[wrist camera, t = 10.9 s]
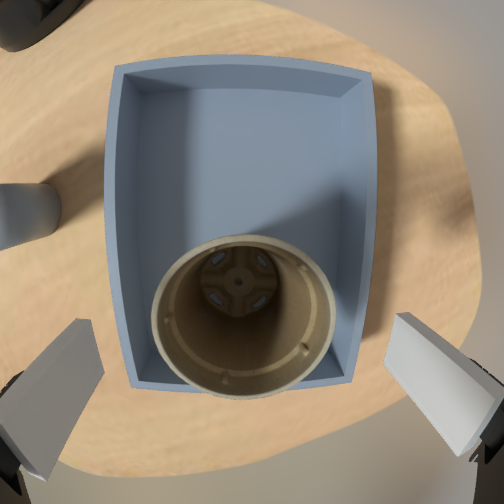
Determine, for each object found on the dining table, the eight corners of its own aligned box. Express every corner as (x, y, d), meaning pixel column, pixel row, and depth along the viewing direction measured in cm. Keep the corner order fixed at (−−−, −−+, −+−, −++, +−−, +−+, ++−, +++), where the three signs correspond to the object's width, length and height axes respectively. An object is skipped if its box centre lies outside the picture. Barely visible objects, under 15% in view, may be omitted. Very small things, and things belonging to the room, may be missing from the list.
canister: (24, 186, 19) (-24, 188, 12) (60, 180, 19) (10, 179, 12) (26, 237, 20) (-21, 252, 13) (62, 236, 20) (14, 251, 13)
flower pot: (208, 197, 20) (193, 199, 12) (318, 249, 22) (368, 282, 13) (163, 305, 22) (131, 363, 13) (266, 346, 23) (283, 415, 15)
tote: (136, 89, 18) (114, 66, 13) (345, 93, 20) (371, 72, 15) (146, 355, 23) (131, 387, 18) (332, 352, 24) (351, 382, 20)
